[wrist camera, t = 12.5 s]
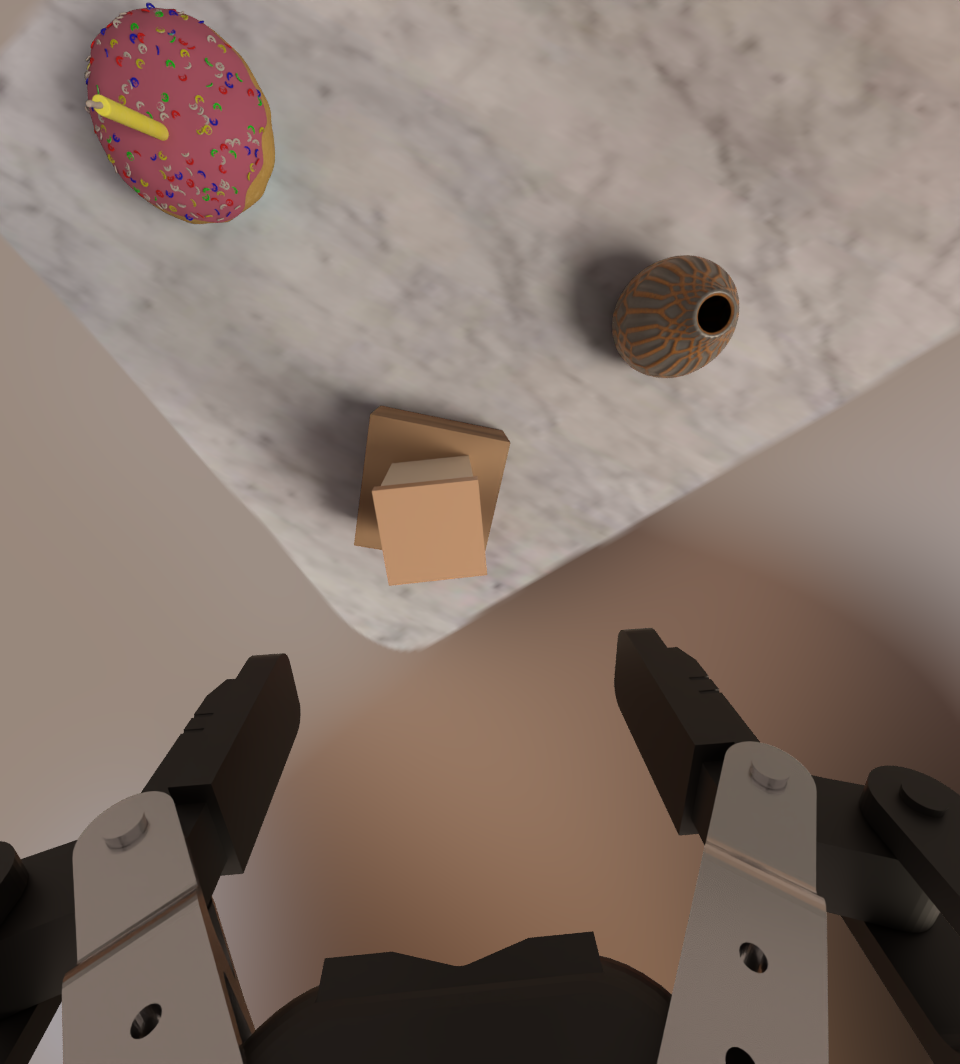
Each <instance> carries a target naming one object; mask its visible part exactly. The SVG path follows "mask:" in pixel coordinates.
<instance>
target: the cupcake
mask: <svg viewBox="0 0 960 1064" xmlns="http://www.w3.org/2000/svg"><path fill="white" fill-rule="evenodd" d="M148 5H151V6H152V7H153V8H152V7H149V6H148ZM146 7H147V8H143V9H136V10H132V11H129V12H126V13H120V14H119V17H116V19H114V20H113V21H112V22H111V23H110V24H109V25H107V27H106V28H103V29H101V33H99V34H98V35H97V37H96V38H95V39H94V41H93V42H92V44H91V55H90V56H89V57H87V58H86V61H88V60H90V63H89V65H88V67H87V70H88V71H86V72H85V79H86V84H87V89H88V100H87V101H86V105H87V106H85V109H86V111H87V112H88V113H89V114H91V118H92V122H93V125H94V131H95V134H97V136H98V138H99V141H100V143H101V145H102V146H103V148H104V150H105V152H106V154H107V156H108V159H109V161H110V162H111V163H112V164H113V166H114V168H115V172H116V173H117V172H118V174H119V175H120V176H121V177H122V179H123V180H124V181H125V182H126V183H127V184H128V185H129V186H130V187H131V188H132V189H133V190H134V191H135V192H137V193H138V194H139V195H140V196H141V197H143V198H144V199H145V200H147V201H148V202H149V203H151V204H152V205H154V206H155V207H157V208H158V209H160V210H162V211H163V212H165V213H167V214H169V215H172V216H174V217H176V218H178V219H181V220H183V221H186V222H189V223H193V224H206V223H220V222H228V221H230V220H232V219H233V218H235V217H236V216H238V215H239V214H240V213H242V212H243V211H245V210H247V209H248V208H249V207H251V206H252V205H253V204H254V203H256V202H257V201H258V200H259V199H260V198H261V197H262V195H263V193H264V191H265V188H266V185H267V183H268V180H269V178H270V176H271V173H272V171H273V168H274V163H275V148H274V137H273V131H272V124H271V112H270V107H269V104H268V102H267V100H266V98H265V96H264V94H263V92H262V90H261V89H260V87H259V85H258V83H257V81H256V79H255V77H254V76H253V74H252V72H251V70H250V68H249V67H248V65H247V64H246V62H245V61H244V59H243V58H242V57H241V56H240V54H239V53H238V52H237V51H236V50H235V49H233V48H232V47H231V46H230V45H229V44H228V43H227V42H226V41H225V40H224V39H223V38H221V37H220V36H219V35H218V34H217V33H216V32H215V31H213V30H212V29H211V28H209V27H208V26H206V25H205V24H203V23H204V21H199V20H197V19H195V18H193V17H191V16H189V15H186V14H183V13H184V12H183V11H182V12H177V11H176V9H161V8H155V7H154V6H153V5H152V4H151V3H146ZM88 107H89V108H88ZM87 109H88V110H89V111H90V112H89V111H88V110H87Z"/></svg>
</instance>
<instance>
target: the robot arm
mask: <svg viewBox="0 0 960 1064" xmlns="http://www.w3.org/2000/svg"><path fill="white" fill-rule="evenodd" d="M614 687H615V695H616V699H617V703H618V706H619V708H620V711H621V713H622V715H623V717H624V719H625V721H626V723H627V726H628V728H629V730H630V732H631V734H632V736H633V738H634V740H635V743H636V745H637V747H638V749H639V751H640V753H641V755H642V758H643V759H644V762H645V764H646V766H647V768H648V770H649V773H650V775H651V776H652V779H653V781H654V783H655V785H656V787H657V790H658V792H659V794H660V796H661V798H662V800H663V802H664V804H665V807H666V809H667V811H668V813H669V815H670V817H671V819H672V822H673V824H674V826H675V828H676V830H677V832H678V834H679V835H690V834H699V835H700V837H701V839H702V841H703V843H704V845H705V848H704V852H703V857H702V861H701V866H700V870H699V876H698V880H697V885H696V889H695V893H694V898H693V902H692V907H691V911H690V916H689V920H688V925H687V929H686V934H685V939H684V943H683V948H682V952H681V957H680V962H679V966H678V970H677V975H676V980H675V984H674V989H673V993H672V994H670V993H669V992H668V991H667V990H666V989H664V988H663V987H662V986H661V985H660V984H658V983H657V982H655V981H654V980H652V979H651V978H649V977H648V976H646V975H645V974H644V973H642V972H640V971H638V970H636V969H634V968H632V967H630V966H629V965H627V964H624V963H621V962H619V961H616V960H613V959H611V958H607V957H603V956H599V953H598V949H597V945H596V941H595V937H594V933H593V932H583V933H574V934H564V935H553V936H544V937H534V938H527V939H525V940H523V941H521V942H518V943H516V944H514V945H511V946H509V947H507V948H505V949H502V950H500V951H498V952H495V953H493V954H491V955H489V956H486V957H484V958H482V959H479V960H477V961H475V962H472V963H470V964H468V965H465V966H452V965H448V964H444V963H439V962H435V961H430V960H426V959H422V958H417V957H413V956H409V955H404V954H399V953H395V952H386V953H385V952H384V953H376V954H365V955H354V956H345V957H334V958H326V959H325V961H324V966H323V970H322V975H321V980H320V985H319V986H316V987H314V988H312V989H310V990H308V991H306V992H305V993H303V994H301V995H300V996H298V997H296V998H294V999H293V1000H292V1001H290V1002H289V1003H287V1004H286V1005H285V1006H283V1007H282V1008H280V1009H279V1010H278V1011H276V1012H275V1013H274V1014H273V1015H272V1016H271V1017H270V1018H269V1019H267V1020H266V1021H265V1022H264V1023H263V1024H262V1025H261V1026H260V1027H259V1028H257V1029H256V1030H255V1027H254V1024H253V1021H252V1018H251V1015H250V1013H249V1010H248V1008H247V1004H246V1002H245V999H244V996H243V993H242V989H241V986H240V983H239V980H238V977H237V974H236V970H235V967H234V964H233V960H232V957H231V954H230V950H229V948H228V944H227V941H226V937H225V934H224V931H223V928H222V924H221V921H220V918H219V915H218V911H217V908H216V905H215V902H214V899H213V897H212V894H213V892H214V890H215V887H216V885H217V882H218V880H219V878H220V876H222V875H233V874H243V873H244V870H245V868H246V865H247V863H248V860H249V857H250V855H251V852H252V850H253V847H254V844H255V842H256V839H257V837H258V834H259V831H260V829H261V826H262V824H263V821H264V818H265V816H266V813H267V811H268V808H269V805H270V803H271V800H272V797H273V795H274V792H275V790H276V787H277V785H278V782H279V779H280V777H281V774H282V771H283V769H284V766H285V764H286V761H287V758H288V756H289V753H290V751H291V748H292V746H293V743H294V740H295V738H296V735H297V732H298V729H299V724H300V703H299V699H298V695H297V690H296V686H295V682H294V677H293V673H292V669H291V665H290V661H289V658H288V656H287V655H286V654H269V655H256V656H251V657H250V658H249V659H248V660H247V661H246V663H245V665H244V666H243V668H242V669H241V671H240V673H239V674H238V676H237V678H236V679H227V680H225V681H224V682H223V683H222V684H221V685H219V686H218V687H217V688H216V689H215V690H213V691H212V692H211V693H210V694H209V695H207V696H206V698H205V699H204V701H203V702H202V704H201V705H200V707H199V708H198V710H197V711H196V712H195V714H194V718H191V720H190V721H189V723H188V724H187V726H186V727H185V729H184V733H183V734H181V735H180V736H179V737H178V739H177V740H176V742H175V743H174V745H173V747H172V748H171V749H170V751H169V752H168V754H167V755H166V757H165V758H164V760H163V761H162V762H161V764H160V765H159V767H158V768H157V770H156V771H155V773H154V774H153V776H152V777H151V779H150V780H149V782H148V783H147V785H146V786H145V788H144V789H143V790H142V792H141V793H140V794H136V795H133V796H131V797H128V798H126V799H124V800H121V801H120V802H118V803H116V804H114V805H113V806H111V807H110V808H108V809H107V810H105V811H104V812H103V813H101V814H100V815H99V816H98V817H97V818H96V819H94V820H93V821H92V822H91V823H90V824H89V825H88V827H87V828H86V829H85V830H84V831H83V833H82V834H81V835H80V837H79V839H78V840H75V841H73V842H70V843H67V844H64V845H61V846H58V847H55V848H53V849H50V850H46V851H44V852H41V853H38V854H35V855H32V856H29V857H26V858H23V859H20V857H19V856H18V854H17V853H16V851H15V849H14V848H13V847H12V846H11V845H10V844H8V843H6V842H1V841H0V1064H28V1063H29V1061H30V1059H31V1057H32V1055H33V1054H34V1052H35V1049H36V1048H37V1046H38V1044H39V1042H40V1041H41V1039H42V1037H43V1035H44V1033H45V1031H46V1030H47V1028H48V1026H49V1024H50V1022H51V1020H52V1018H53V1017H54V1015H55V1013H56V1011H57V1009H58V1007H59V1005H60V1004H61V1002H62V1027H63V1064H828V988H827V986H828V985H827V916H826V912H829V913H833V914H837V915H841V917H842V918H843V920H844V922H845V923H846V925H847V926H848V928H849V930H850V931H851V933H852V934H853V936H854V937H855V939H856V941H857V942H858V944H859V945H860V947H861V948H862V950H863V952H864V953H865V955H866V957H867V958H868V960H869V961H870V963H871V964H872V966H873V968H874V969H875V971H876V972H877V974H878V975H879V977H880V979H881V980H882V982H883V984H884V985H885V987H886V988H887V990H888V991H889V993H890V995H891V996H892V998H893V999H894V1001H895V1003H896V1004H897V1006H898V1007H899V1009H900V1011H901V1012H902V1014H903V1015H904V1017H905V1018H906V1020H907V1022H908V1023H909V1025H910V1026H911V1028H912V1030H913V1031H914V1033H915V1034H916V1036H917V1038H918V1039H919V1041H920V1042H921V1044H922V1045H923V1047H924V1049H925V1050H926V1052H927V1053H928V1055H929V1057H930V1058H931V1060H932V1061H933V1063H934V1064H960V795H958V794H957V793H956V792H954V791H953V790H951V789H950V788H949V787H947V786H946V785H944V784H943V783H941V782H939V781H937V780H936V779H934V778H932V777H930V776H927V775H925V774H923V773H920V772H918V771H915V770H912V769H908V768H904V767H898V766H881V767H877V768H875V769H873V770H872V771H871V772H870V773H869V775H868V778H867V781H866V783H865V785H859V784H854V783H848V782H843V781H838V780H832V779H827V778H822V777H817V776H813V775H811V774H810V773H809V772H808V770H807V769H806V768H805V767H804V766H803V765H802V764H801V763H800V762H799V761H798V760H796V759H795V758H794V757H792V756H791V755H789V754H788V753H786V752H784V751H782V750H780V749H778V748H776V747H774V746H771V745H768V744H764V743H760V741H759V740H758V739H757V737H756V736H755V735H754V734H753V732H752V731H751V730H750V729H749V727H748V726H747V725H746V723H745V722H744V721H743V720H742V718H741V717H740V716H739V714H738V713H737V712H736V711H735V709H734V708H733V707H732V705H731V704H730V703H729V702H728V700H727V699H726V698H725V696H724V695H723V694H722V693H719V689H718V688H717V686H716V685H715V684H714V682H713V681H712V680H711V679H709V677H708V675H707V674H706V672H705V671H704V670H703V668H702V667H701V666H700V665H699V663H698V662H697V661H696V660H695V659H694V658H692V657H691V656H689V655H688V654H686V653H685V652H683V651H682V650H680V649H679V648H678V647H673V648H667V647H666V645H665V644H664V643H663V641H662V640H661V638H660V637H659V635H658V634H657V633H656V631H655V630H654V629H652V628H643V629H629V630H621V631H620V632H619V635H618V642H617V654H616V666H615V678H614ZM940 912H941V913H940ZM944 917H945V918H944ZM948 922H949V923H948ZM952 927H953V928H954V929H953V928H952ZM956 932H957V933H958V934H957V933H956Z"/></svg>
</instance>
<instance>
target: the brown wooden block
mask: <svg viewBox="0 0 960 1064" xmlns="http://www.w3.org/2000/svg"><path fill="white" fill-rule="evenodd" d="M509 446H510V441H509V440H508V438H507V437H506V435H505V434H504V432H503V431H502V430H497V429H492V428H487V427H483V426H478V425H473V424H468V423H463V422H458V421H453V420H448V419H443V418H438V417H434V416H429V415H424V414H419V413H414V412H409V411H404V410H399V409H394V408H390V407H385V406H380V407H378V408H377V409H376V410H375V411H374V412H372V413H371V414H370V421H369V429H368V437H367V445H366V453H365V461H364V469H363V477H362V485H361V493H360V501H359V509H358V517H357V526H356V534H355V542H354V545H355V546H361V547H368V548H374V549H380V550H382V544H381V539H380V533H379V528H378V522H377V517H376V511H375V506H374V500H373V495H372V490H373V488H374V487H376V486H381V484H382V482H383V480H384V478H385V476H386V474H387V472H388V470H389V468H390V466H391V464H392V463H400V462H409V461H419V460H429V459H438V458H448V457H458V456H467V455H469V459H470V464H471V469H472V474H473V476H477V477H478V484H479V494H480V505H481V515H482V526H483V537H484V547H485V549H486V545H487V541H488V537H489V532H490V528H491V524H492V519H493V515H494V511H495V506H496V502H497V498H498V493H499V489H500V485H501V481H502V476H503V472H504V468H505V463H506V459H507V455H508V450H509Z"/></svg>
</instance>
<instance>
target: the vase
mask: <svg viewBox="0 0 960 1064" xmlns="http://www.w3.org/2000/svg"><path fill="white" fill-rule="evenodd" d="M738 315H739V298H738V293H737V289H736V287H735V284H734V282H733V280H732V279H731V277H730V276H729V275H728V273H727V272H726V271H725V270H724V269H723V268H722V267H720V266H719V265H717V264H716V263H714V262H712V261H710V260H708V259H705V258H701V257H697V256H689V255H685V256H674V257H670V258H667V259H663V260H661V261H658V262H656V263H654V264H652V265H650V266H649V267H647V268H646V269H644V270H643V271H641V272H640V273H639V274H638V275H636V276H635V277H634V278H633V279H632V280H631V281H630V283H629V284H628V285H627V286H626V288H625V289H624V291H623V292H622V294H621V296H620V298H619V300H618V302H617V304H616V307H615V311H614V315H613V321H612V332H613V339H614V342H615V345H616V348H617V350H618V352H619V354H620V355H621V357H622V358H623V359H624V361H625V362H626V363H627V364H628V365H629V366H631V367H632V368H633V369H635V370H636V371H638V372H640V373H643V374H645V375H648V376H653V377H658V378H674V377H679V376H684V375H687V374H689V373H692V372H694V371H696V370H698V369H700V368H702V367H704V366H705V365H707V364H708V363H709V362H711V361H712V360H713V359H714V358H716V357H717V356H718V355H719V354H720V353H721V351H722V350H723V349H724V348H725V347H726V345H727V344H728V342H729V341H730V339H731V337H732V335H733V333H734V330H735V328H736V324H737V321H738Z"/></svg>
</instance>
